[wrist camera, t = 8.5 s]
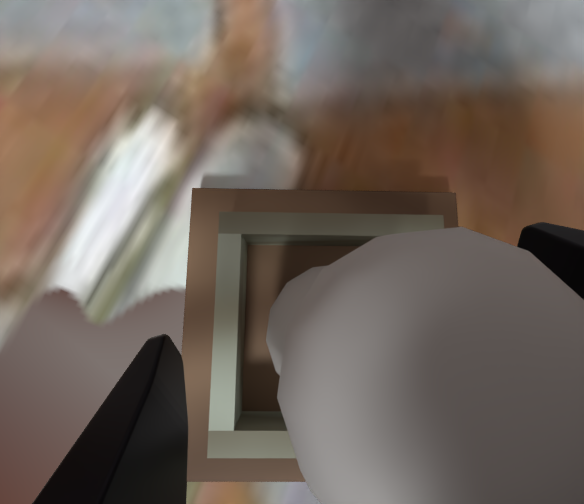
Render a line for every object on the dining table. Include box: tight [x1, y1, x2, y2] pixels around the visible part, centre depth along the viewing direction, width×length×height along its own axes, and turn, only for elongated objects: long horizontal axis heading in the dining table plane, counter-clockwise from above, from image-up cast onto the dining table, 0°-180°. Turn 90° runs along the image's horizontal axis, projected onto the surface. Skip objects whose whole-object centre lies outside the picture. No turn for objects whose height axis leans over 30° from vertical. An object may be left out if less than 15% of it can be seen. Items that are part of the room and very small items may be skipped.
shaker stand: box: [182, 188, 458, 482], centre depth 16 cm, size 14×14×4 cm
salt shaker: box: [266, 227, 584, 504], centre depth 10 cm, size 6×6×13 cm
